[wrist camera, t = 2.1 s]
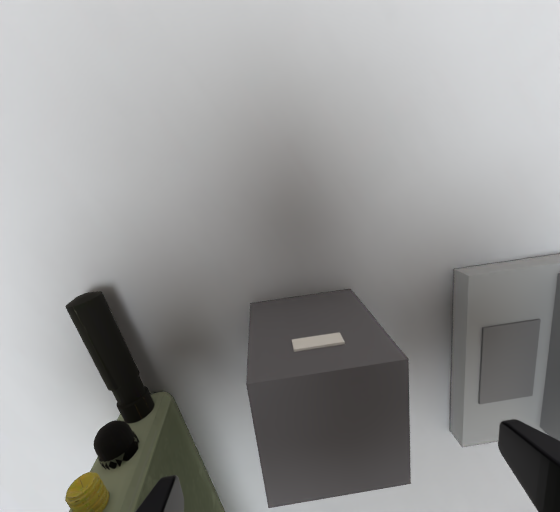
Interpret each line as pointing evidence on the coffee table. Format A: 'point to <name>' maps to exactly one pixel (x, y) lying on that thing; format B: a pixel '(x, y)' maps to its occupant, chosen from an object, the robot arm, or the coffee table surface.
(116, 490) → the handheld radio
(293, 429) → the block
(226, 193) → the coffee table surface
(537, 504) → the robot arm
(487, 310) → the grey charging dock
